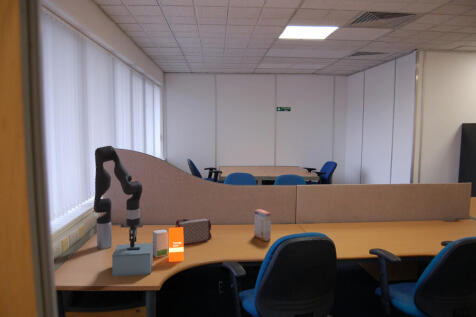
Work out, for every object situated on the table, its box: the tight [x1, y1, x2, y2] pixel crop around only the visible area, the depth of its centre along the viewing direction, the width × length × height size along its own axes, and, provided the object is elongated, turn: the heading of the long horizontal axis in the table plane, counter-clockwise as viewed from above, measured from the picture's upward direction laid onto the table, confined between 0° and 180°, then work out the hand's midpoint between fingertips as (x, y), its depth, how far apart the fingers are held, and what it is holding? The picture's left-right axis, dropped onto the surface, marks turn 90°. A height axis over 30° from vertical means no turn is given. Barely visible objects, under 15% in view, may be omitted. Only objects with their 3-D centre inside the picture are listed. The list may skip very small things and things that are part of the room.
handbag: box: [175, 217, 213, 246], centre depth 226 cm, size 28×11×17 cm, turn 120°
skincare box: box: [152, 229, 169, 258], centre depth 200 cm, size 8×7×16 cm
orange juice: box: [168, 227, 185, 263], centre depth 194 cm, size 8×9×20 cm
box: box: [111, 242, 154, 277], centre depth 179 cm, size 16×20×12 cm
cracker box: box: [253, 208, 272, 242], centre depth 235 cm, size 14×6×21 cm, turn 29°
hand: (133, 244), depth 178 cm, fingers open, 8 cm apart
